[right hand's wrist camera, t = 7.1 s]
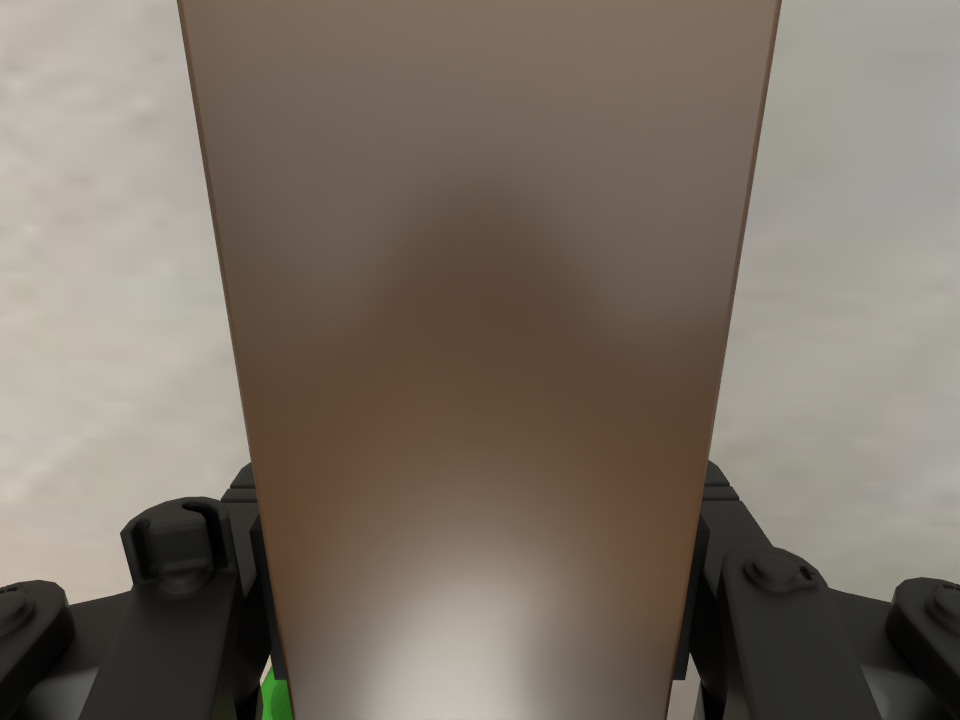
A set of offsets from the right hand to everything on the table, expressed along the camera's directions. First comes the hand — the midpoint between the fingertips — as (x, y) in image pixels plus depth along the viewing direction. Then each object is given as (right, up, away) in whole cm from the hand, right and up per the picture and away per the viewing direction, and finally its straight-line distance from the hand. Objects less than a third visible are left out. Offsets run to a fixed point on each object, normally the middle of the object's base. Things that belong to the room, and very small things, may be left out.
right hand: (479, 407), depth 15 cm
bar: (0, +10, -3) cm, 10 cm away
